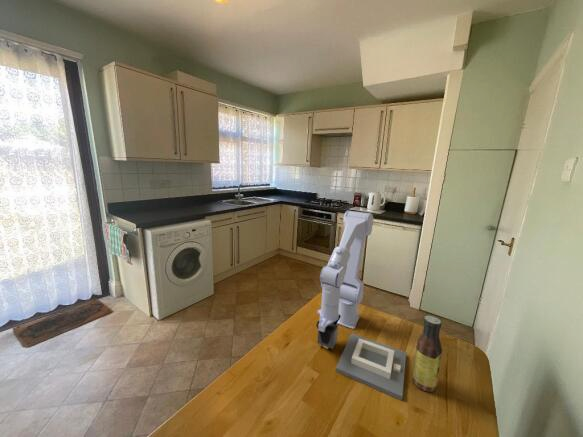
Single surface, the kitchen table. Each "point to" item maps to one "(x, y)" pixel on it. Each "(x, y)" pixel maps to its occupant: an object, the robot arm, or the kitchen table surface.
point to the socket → (374, 365)
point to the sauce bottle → (428, 355)
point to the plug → (332, 338)
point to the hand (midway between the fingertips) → (327, 338)
